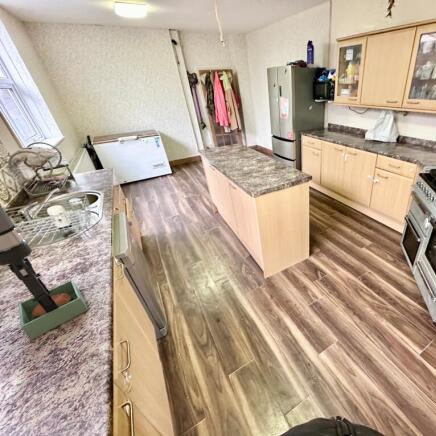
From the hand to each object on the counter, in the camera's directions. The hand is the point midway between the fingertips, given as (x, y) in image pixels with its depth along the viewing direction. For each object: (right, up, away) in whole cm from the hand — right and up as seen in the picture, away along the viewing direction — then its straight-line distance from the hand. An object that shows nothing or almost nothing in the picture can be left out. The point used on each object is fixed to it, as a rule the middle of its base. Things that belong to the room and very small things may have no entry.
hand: (49, 302), depth 74 cm
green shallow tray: (+1, -4, +2) cm, 5 cm away
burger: (0, -4, +2) cm, 4 cm away
